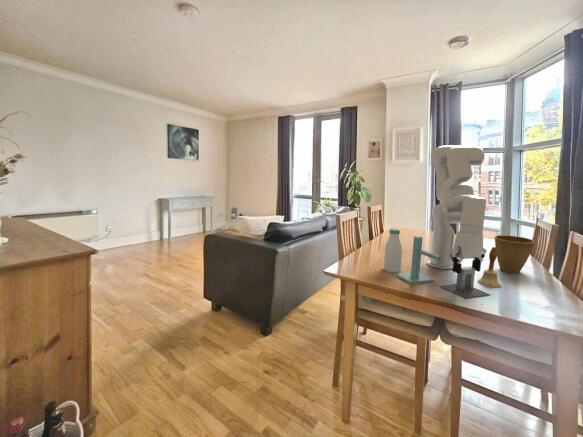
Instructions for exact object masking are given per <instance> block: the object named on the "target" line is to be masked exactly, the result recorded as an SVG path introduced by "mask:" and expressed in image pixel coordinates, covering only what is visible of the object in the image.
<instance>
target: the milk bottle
mask: <svg viewBox="0 0 583 437" xmlns="http://www.w3.org/2000/svg"><path fill="white" fill-rule="evenodd" d="M388 234H389V237H388V239H387V241H386V243H385V246H384V256H383V257H384V258H383V261H384V262H383V270H384V271H385V272H386V273H393V274H394V273H395V274H399V273H400V272H401V269H402V260H403V259H402V256H403V255H402V254H403V246H402V242H401V240H400V234H401V230H400V229H397V228H391V229H389V233H388Z"/></svg>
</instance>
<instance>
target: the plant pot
mask: <svg viewBox="0 0 583 437" xmlns="http://www.w3.org/2000/svg"><path fill="white" fill-rule="evenodd" d="M535 241H536V240H533V239H531V238H527V237H524V236H516V235H515V236H514V235H508V234H507V235H504V234H503V235H495V236H494V244H495V245H494V247H496V251H497V257H496V260H497V262H498V266H499V268H500V270H501V271H503V272H506V273H510V274H511V273H512V274H519V273H520V272H521V271H522V269H523V268H524V266H525V265H526V263H527V262H528V259H529V257H530V255H531V253H532V251H533V247H534V245H535Z"/></svg>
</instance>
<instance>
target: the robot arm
mask: <svg viewBox="0 0 583 437" xmlns="http://www.w3.org/2000/svg"><path fill="white" fill-rule="evenodd" d="M484 161H485V151H484V149H483V148H482V147H481V146H479V145H470V144H467V145H464V144H463V145H462V144H461V145H452V144H450V145H441V146H440V145H439V146H438V147H436V148H434V150H433V153H432V164H433V167H434V172H435V176H436V178H435V180H436V181H435V184H436V186H435V187H436V188H435V190H436V193H435V195H436V199H437V200H438V201H440V203H439V204H436V205H434V207H433V209H432V220H433V228H432V240H431V252H430V253H432V254H435V255H438V256H440V260H436V259H433V258H430V259H428V260H427V261H426V265H427V266H429V267H432V268H434V269H440V270H452V272H453V273H455V274H457V273H458V274H460V273H461V267H463V266H462V262H463V260H466V259H472V264H471V267H473V268H475V272H481V265H482V262H483V259H484V258H485V257H486V254H487V252H488V250H487V249H486V248H484V234H483V232H484V223H485V216H486V208H487V199H486V198H485V197H483V196H479V195H476V194H474V188H473V186H472V184H470V183H469V182H468V181H470V179H472V178H473V170H472V166H473V167H474V166H481V165H482V164H483V162H484ZM451 224H459V231H458V232H457V233H456V234H455V230H454V229H453V227H452V226H451ZM455 235H456V236H455Z"/></svg>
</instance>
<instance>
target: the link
mask: <svg viewBox="0 0 583 437" xmlns="http://www.w3.org/2000/svg"><path fill="white" fill-rule="evenodd" d="M456 274H457V275H456V282H455V284H456V290H458V291H460V292H464V288H465V289H467V290H470V291H471V290H473V287H474V283H475V275H476V271H475V268H473V267H472V266H461V273H460V274H458V273H456Z"/></svg>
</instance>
